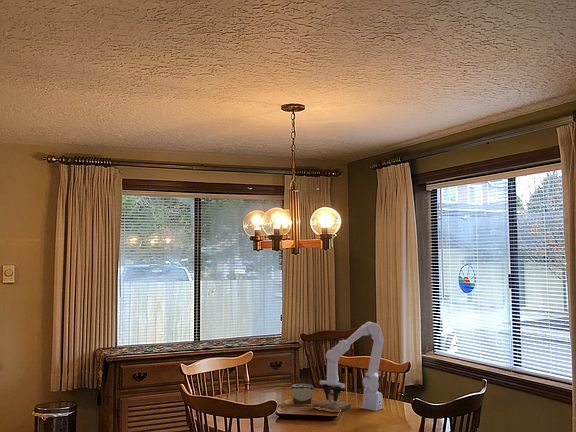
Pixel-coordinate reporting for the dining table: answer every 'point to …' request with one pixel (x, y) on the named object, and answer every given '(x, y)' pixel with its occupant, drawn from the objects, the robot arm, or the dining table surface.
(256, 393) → the dining table surface
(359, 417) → the dining table surface
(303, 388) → the food container
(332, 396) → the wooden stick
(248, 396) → the dining table surface
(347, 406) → the holder block
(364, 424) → the dining table surface
